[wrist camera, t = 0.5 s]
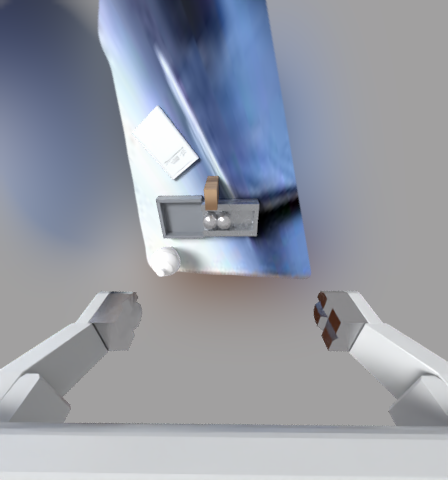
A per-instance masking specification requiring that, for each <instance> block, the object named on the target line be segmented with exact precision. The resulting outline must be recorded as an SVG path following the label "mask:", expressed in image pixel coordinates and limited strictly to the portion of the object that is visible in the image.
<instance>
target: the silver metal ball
mask: <svg viewBox="0 0 448 480" xmlns="http://www.w3.org/2000/svg"><path fill="white" fill-rule="evenodd" d="M217 225H218V226H219V227H220V228H221V229H227V228H229V227H230V225H231V216H230V214H229V213H228V212H221V213H219V215H218V219H217Z"/></svg>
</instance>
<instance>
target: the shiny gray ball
mask: <svg viewBox="0 0 448 480" xmlns="http://www.w3.org/2000/svg"><path fill="white" fill-rule="evenodd" d="M203 225H204V226H205V227H206V228H207V229H213V228H215V227H216V225H217V215H216V214H215V213H214V212H207V213H206V214H205V216H204V220H203Z"/></svg>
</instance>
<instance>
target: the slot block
mask: <svg viewBox="0 0 448 480" xmlns="http://www.w3.org/2000/svg"><path fill="white" fill-rule="evenodd" d="M201 211H203V220H204V216H205V214H206V213H207V212H214V213H215V214H216V215H217V219H218V215H219V213H221V212H228V213H229V214H230V216H231V225H230V227H229V228H227V229H221V228H220V227H219V226H218V225H216V227H215V228H213V229H207V228H206V227H205V226H204V229H203V236H257V226H258V214H259V202H258V199H218V209H217V210H205V199H202V203H201Z"/></svg>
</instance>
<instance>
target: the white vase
mask: <svg viewBox="0 0 448 480" xmlns="http://www.w3.org/2000/svg"><path fill="white" fill-rule="evenodd" d="M180 262H181V261H180V257H179V254H178V253H177V251H176V250H175V249H174V248H172V246H171V247H163V248H161V249H158V250H157V251H155V252H154V254H153V255H152V257H151V267H152V269H153V270H154V271H155V273H157V275H158V276H160V277H162V276H169V275H172V274H174V273H175V272H176V271H177V270H178V269H179V267H180Z"/></svg>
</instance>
